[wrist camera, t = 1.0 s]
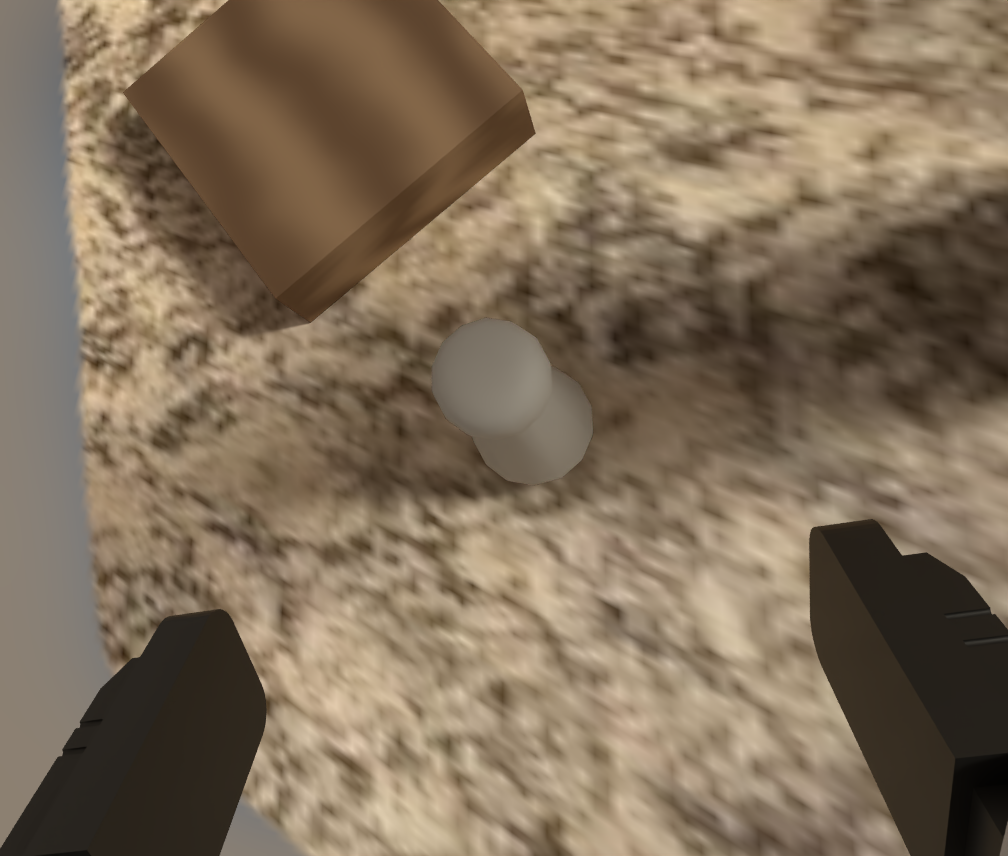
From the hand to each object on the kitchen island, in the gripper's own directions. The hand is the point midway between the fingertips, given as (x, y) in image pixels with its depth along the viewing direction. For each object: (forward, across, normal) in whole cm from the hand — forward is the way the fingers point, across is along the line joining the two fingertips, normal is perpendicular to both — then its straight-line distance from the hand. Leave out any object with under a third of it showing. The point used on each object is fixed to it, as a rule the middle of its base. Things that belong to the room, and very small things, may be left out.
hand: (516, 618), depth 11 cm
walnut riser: (+39, +10, -4) cm, 40 cm away
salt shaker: (+26, +1, +11) cm, 29 cm away
